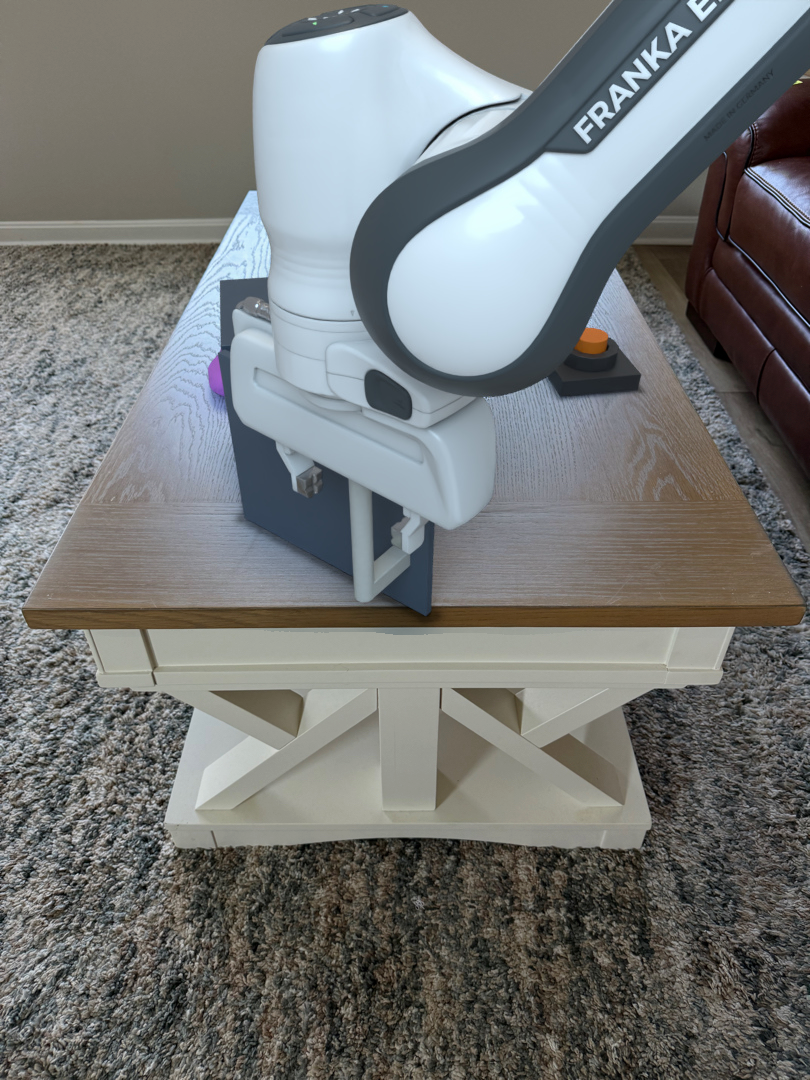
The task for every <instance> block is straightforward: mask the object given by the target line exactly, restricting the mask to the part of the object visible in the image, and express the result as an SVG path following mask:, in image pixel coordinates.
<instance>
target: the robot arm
mask: <svg viewBox="0 0 810 1080" xmlns="http://www.w3.org/2000/svg"><path fill="white" fill-rule="evenodd" d="M809 70H810V0H611V1H610V2H609V3H608V5H607V6H606V7H605V8H604V10H602V12H601V13H600V14H599V15H598V16H597V17H596V19H595V20H594V21H593V22H592V23H591V24H590V26H589V27H588V28H587V29H586V30H585V32H583V34H582V35H581V36H580V37H579V38H578V39H577V41H576V42H575V43H574V44H573V45H572V46H571V47H570V49H569V50H568V51H567V52H566V54H565V55H564V56H563V57H562V59H560V61H559V62H558V63H557V64H556V65H555V66H554V68H553V69H552V70H551V71H550V72H549V73H548V74H547V76H546V77H545V78H544V79H543V80H542V81H541V82H540V84H539V85H538V86H537V87H536V89H534V91H533V90H530V89H528V88H525V87H522V86H520V85H517V84H515V83H512V82H509V81H508V80H505V79H503V78H501V77H498V76H497V75H495V74H492V73H490V72H488V71H487V70H484V69H482V68H481V67H479V66H477V65H475V64H474V63H472V62H470V61H468V60H467V59H465V58H464V57H462V56H461V55H460V54H458V53H456V52H454V51H453V50H452V49H451V48H449V47H448V46H446V45H445V44H444V43H442V42H441V41H440V40H439V39H437V38H436V37H435V36H434V35H433V34H432V33H431V32H430V31H429V30H428V29H427V28H426V27H425V26H424V25H423V23H422V22H421V21H420V20H419V18H418V17H417V16H416V15H415V14H414V12H412V11H411V10H408V9H407V8H406V7H401V6H399V5H397V4H391V3H376V4H371V3H370V4H363V5H356V6H350V7H346V8H340V9H335V10H331V11H326V12H322V13H321V14H319V15H315V16H311V17H304V18H301V19H298V20H296V21H293V22H291V23H288V24H286V25H285V26H284V27H281V28H280V29H278V30H277V31H275V33H273V34H272V35H270V37H269V38H267V40H266V41H265V42H264V45H263V46H262V47H261V49H260V50H259V51H258V53H257V57H256V61H255V66H254V72H253V82H252V100H251V101H252V103H251V105H252V106H251V107H252V113H251V115H252V116H251V117H252V143H253V145H252V146H253V163H254V175H255V185H256V186H255V187H256V196H257V197H256V198H257V206H258V213H259V218H260V221H261V224H262V226H263V227H264V230H265V233H266V235H267V239H268V242H269V243H268V244H269V247H270V264H269V271H268V275H267V277H268V282H267V287H268V298H269V304H268V303H266V302H265V301H264V300H262V299H259V298H256V297H247V298H246V299H245V300H244V301H241V302H239V303H238V305H237V306H236V308H235V310H233V314H232V319H233V326H234V333H235V337H234V338H233V340H232V344H231V351H230V371H231V389H232V399H233V406H234V409H235V411H236V413H237V415H238V416H239V418H240V420H241V421H242V423H243V424H244V425H246V426H248V427H250V428H252V429H254V430H256V431H258V432H260V433H262V434H263V435H265V436H267V437H269V438H271V439H273V440H275V441H276V449H277V451H278V452H279V454H280V456H281V458H282V460H283V461H284V463H285V465H286V467H287V469H288V470H289V472H290V473H291V478H292V487H293V490H294V491H296V492H298V493H300V494H302V495H303V496H305V497H307V498H312V497H313V496H314V494H317V493H319V492H320V491H321V490H322V489H323V486H324V484H323V480H322V478H323V471H322V469H320V468H318V467H316V466H315V465H314V462H313V460H314V461H316V462H318V463H319V464H321V465H323V466H325V467H327V468H329V469H331V470H333V471H335V472H337V473H339V474H341V475H343V476H345V477H347V478H348V479H350V480H352V481H354V482H356V483H358V484H360V485H362V486H364V487H366V488H368V489H370V490H372V491H374V492H375V493H377V494H379V495H381V496H383V497H385V498H387V499H389V500H391V501H393V502H395V503H397V504H399V505H401V506H403V514H404V516H405V517H404V518H403V519H402V521H401V522H397V523H396V524H395V525H393V526H392V527H391V536H392V538H393V539H392V540H391V543H392V545H394V546H396V547H397V548H399V549H401V550H402V551H404V552H406V553H408V554H411V553H412V552H414V551H415V550H416V549H417V548H419V547H420V546H421V545H422V543H423V541H424V527H425V524H426V523H427V522H428V521H429V520H430V521H431V522H433V523H435V525H437V526H439V527H441V528H443V529H445V530H447V531H454V530H456V529H458V528H460V527H461V526H464V525H465V524H467V523H468V522H470V521H471V520H473V519H475V517H477V516H478V515H479V514H480V513H481V512H482V511H483V510H484V509H485V508H486V507H487V506H488V504H489V503H490V502H491V500H492V497H493V494H494V488H495V479H496V464H497V432H496V431H497V429H496V421H495V416H494V413H493V411H492V408H491V406H490V404H489V402H488V400H486V399H485V398H494V397H501V396H506V395H511V394H514V393H517V392H520V391H524V390H526V389H528V388H531V387H533V386H534V385H536V384H538V383H540V382H541V381H543V380H544V379H546V378H548V377H547V376H549V375H550V374H551V373H552V372H554V371H555V370H556V369H557V368H558V367H559V366H560V365H561V364H562V363H563V362H564V361H565V360H566V358H567V357H568V356H569V354H570V353H571V352H572V351H573V349H574V348H575V346H576V344H577V343H578V341H579V339H580V338H581V336H582V334H583V332H584V330H585V328H587V326H588V325H589V322H590V320H591V317H592V315H593V313H594V311H595V309H596V307H597V304H598V302H599V300H600V298H601V296H602V293H603V292H604V290H605V287H606V286H607V283H608V281H609V280H610V277H611V276H612V275H613V273H614V271H615V269H616V268H617V266H618V265H619V263H620V261H621V260H622V258H623V257H624V255H626V253H627V252H628V250H629V249H630V248H631V246H632V245H633V244H634V242H635V241H636V240H637V239H638V238H639V237H640V236H641V234H642V233H643V232H645V230H646V229H647V228H648V227H649V226H650V224H652V223H653V221H654V220H655V219H657V218H658V217H659V215H661V213H663V211H664V210H666V208H668V207H669V206H670V205H671V203H673V202H674V201H675V200H676V199H677V198H678V197H679V196H680V195H681V194H683V192H684V191H685V190H686V189H687V188H688V187H689V186H691V184H693V182H694V181H695V180H696V179H697V178H699V177H700V176H701V175H702V174H703V172H705V171H707V169H708V168H709V167H710V166H711V165H712V164H713V163H714V162H716V160H717V159H718V158H720V157H721V155H723V153H724V152H726V151H727V150H728V149H729V147H731V146H732V145H733V144H734V143H736V141H737V140H738V139H739V138H740V137H741V136H742V135H743V134H744V133H745V132H746V131H748V130H749V128H750V127H752V126H753V124H754V123H756V122H757V121H758V120H759V119H760V118H761V117H762V116H763V115H764V114H765V113H766V112H767V111H768V110H769V109H770V108H771V107H772V106H773V105H774V104H775V103H777V101H778V100H779V99H780V98H781V97H782V96H784V95H785V94H786V93H787V92H788V91H789V90H790V89H791V88H792V87H793V86H794V85H795V84H796V83H797V82H798V81H799V80H800V79H801V78H803V76H804V75H805V74H806V73H807V72H808V71H809Z"/></svg>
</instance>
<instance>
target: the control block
mask: <svg viewBox="0 0 810 1080" xmlns="http://www.w3.org/2000/svg"><path fill="white" fill-rule="evenodd" d="M546 378H547V379H548V380H549V382H550V383H551V385H552V387H553V388H554V389H555V391H556V393H557V394H558V396H559V397H560V398H568V397H578V396H588V395H589V396H590V395H599V394H610V393H621V392H630V391H631V392H632V391H638V390H639V387H640V383H641V378H642V373H641V372H640V371H639V369H638V368H637V367H636V366H635V365H634V363H633V362H632V361H631V360H630V358H629V357H628V356H627V355H626V354H625V353H624V352H623V351H622V349H621V348H620V346H619V344H618V343H617V342H616V341H615V340H614V339H613V338H611V337H609V336H608V342H607V347H606V351H605V352H603V353H600V354H588V353H582V352H580V351H578V350H576V349H573V351H572V352H571V353H570V354H569V356H568V357H567V358H566V360H565V361H564V362H563V363H562V364H561V365H560V366H559V367H558V368H557V369H556V370H555V371H554V372H552V373H551V374H550V375H549V376H547V377H546Z"/></svg>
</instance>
